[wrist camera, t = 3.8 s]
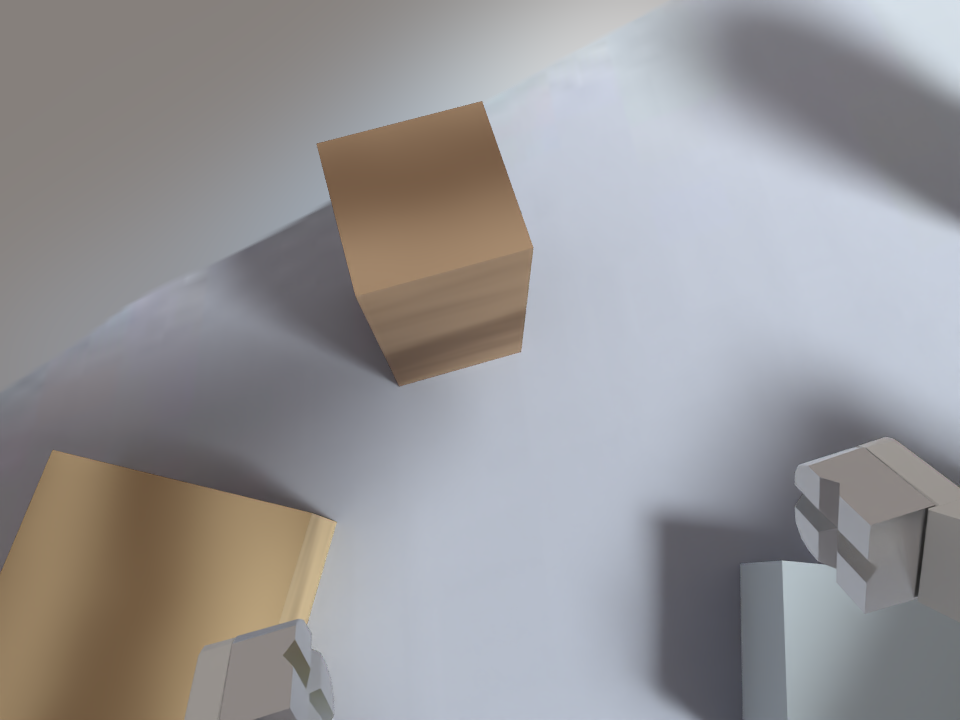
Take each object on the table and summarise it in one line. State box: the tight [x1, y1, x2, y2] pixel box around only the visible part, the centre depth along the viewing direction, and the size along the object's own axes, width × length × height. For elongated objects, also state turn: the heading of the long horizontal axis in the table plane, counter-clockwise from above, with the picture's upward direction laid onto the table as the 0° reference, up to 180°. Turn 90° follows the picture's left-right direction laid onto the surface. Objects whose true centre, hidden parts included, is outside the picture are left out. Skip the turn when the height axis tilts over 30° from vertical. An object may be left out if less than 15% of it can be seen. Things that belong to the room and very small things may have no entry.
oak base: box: [0, 450, 337, 720], centre depth 23 cm, size 9×9×4 cm
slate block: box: [740, 560, 960, 720], centre depth 22 cm, size 6×6×4 cm
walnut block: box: [317, 101, 533, 386], centre depth 24 cm, size 5×5×9 cm
